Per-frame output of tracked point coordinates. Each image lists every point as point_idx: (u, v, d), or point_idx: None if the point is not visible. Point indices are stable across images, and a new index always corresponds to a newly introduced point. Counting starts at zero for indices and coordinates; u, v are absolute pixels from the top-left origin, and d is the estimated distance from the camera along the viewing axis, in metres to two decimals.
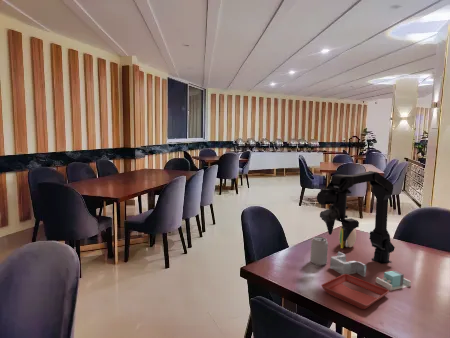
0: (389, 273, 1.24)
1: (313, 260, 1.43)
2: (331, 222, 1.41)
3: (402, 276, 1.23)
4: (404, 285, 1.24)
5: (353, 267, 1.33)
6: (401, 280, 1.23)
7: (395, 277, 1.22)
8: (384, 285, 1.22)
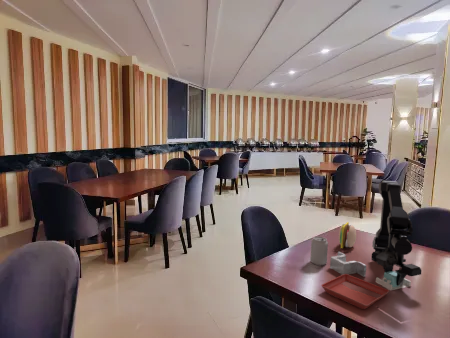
0: (389, 273, 1.24)
1: (313, 260, 1.43)
2: (390, 267, 1.26)
3: None
4: (404, 285, 1.24)
5: (353, 267, 1.33)
6: None
7: (395, 277, 1.22)
8: (384, 285, 1.22)
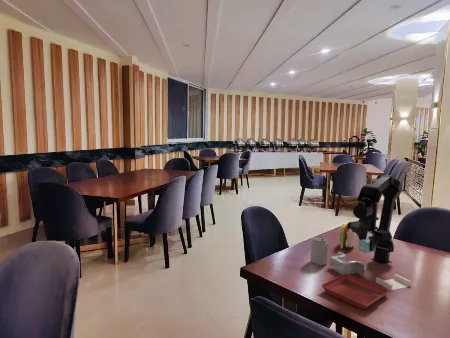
0: (363, 240, 1.34)
1: (313, 260, 1.43)
2: (364, 235, 1.36)
3: None
4: (404, 285, 1.24)
5: (353, 267, 1.33)
6: None
7: (368, 244, 1.31)
8: (384, 285, 1.22)
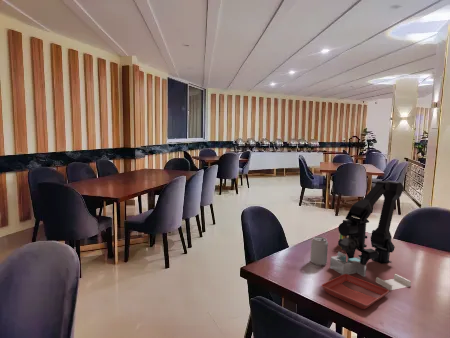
0: (352, 259, 1.39)
1: (313, 260, 1.43)
2: (352, 251, 1.42)
3: None
4: (404, 285, 1.24)
5: (353, 267, 1.33)
6: None
7: None
8: (384, 285, 1.22)
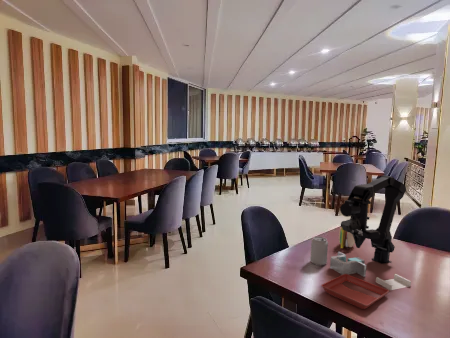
0: (352, 259, 1.39)
1: (313, 260, 1.43)
2: None
3: (363, 262, 1.38)
4: (404, 285, 1.24)
5: (353, 267, 1.33)
6: None
7: None
8: (384, 285, 1.22)
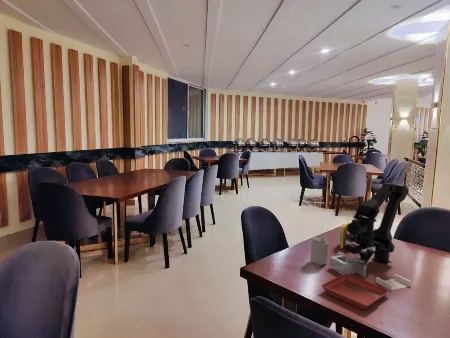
0: (352, 259, 1.39)
1: (313, 260, 1.43)
2: None
3: (363, 262, 1.38)
4: (404, 285, 1.24)
5: (353, 267, 1.33)
6: None
7: None
8: (384, 285, 1.22)
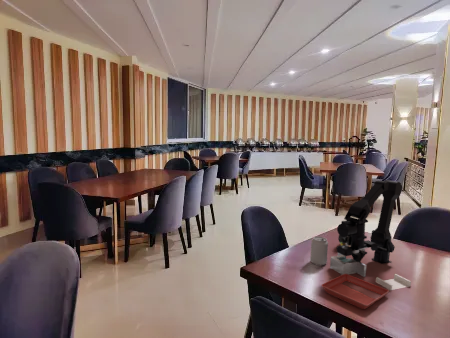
0: (344, 260, 1.37)
1: (313, 260, 1.43)
2: None
3: None
4: (404, 285, 1.24)
5: (353, 267, 1.33)
6: None
7: None
8: (384, 285, 1.22)
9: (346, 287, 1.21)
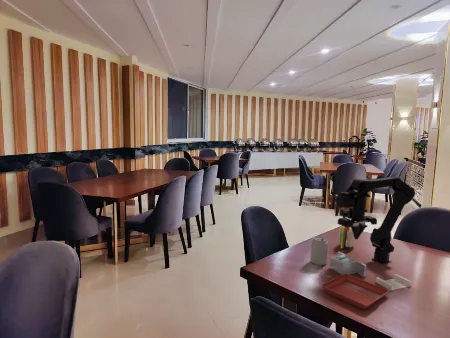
0: (344, 260, 1.37)
1: (313, 260, 1.43)
2: None
3: None
4: (404, 285, 1.24)
5: (353, 267, 1.33)
6: None
7: None
8: (384, 285, 1.22)
9: (346, 287, 1.21)
